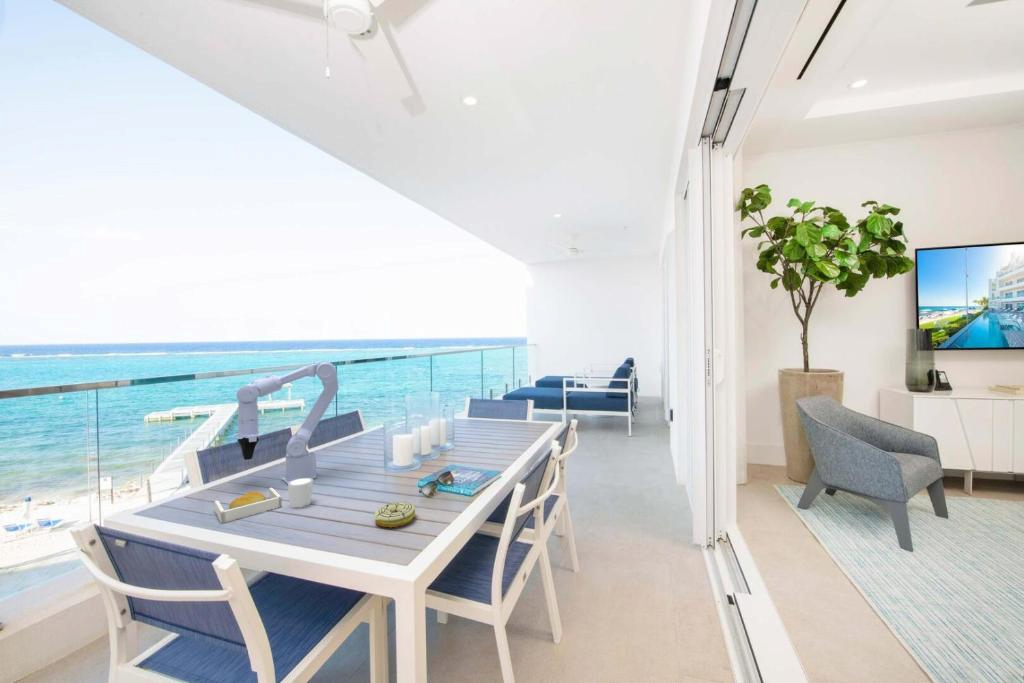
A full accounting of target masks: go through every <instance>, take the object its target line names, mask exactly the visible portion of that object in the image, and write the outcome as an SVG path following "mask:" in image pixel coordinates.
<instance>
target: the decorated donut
mask: <svg viewBox="0 0 1024 683" xmlns="http://www.w3.org/2000/svg"><path fill="white" fill-rule="evenodd" d="M415 515H416V508H415V506H414V505H413V504H412V503H410V502H407V501H404V502H393V503H388V504H385V505H384V506H382V507H380V508H378V509H377V510H376V511H375V512H374V522H375V524H376V525H377V526H380V527H381V526H382V527H381V528H386V527H389V529H390V528H391V529H393V528H392V527H395V528H399V527H398V526H400V527H403V526H402V525H404V526H406V525H408V524H409V523H410V522H412V520H413V518H414V517H415ZM407 523H408V524H407ZM405 524H406V525H405Z"/></svg>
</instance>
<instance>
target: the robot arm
mask: <svg viewBox="0 0 1024 683" xmlns="http://www.w3.org/2000/svg"><path fill="white" fill-rule="evenodd" d="M316 376H317V377H318V378H319V380H320V381H321V383H322V384H321V385H322V386H323V389H322V392H321V393H320V395H319V396H318V398H317V400H316V401H315V402H314V404H313V406H312V408H311V409H310V411H309V413H308V414H307V416H306V418H304V421H302V424H301V425H300V427H299V428H298V430H297V431H296V433H295V434H293V435H292V436H290V437H289V439H288V443H287V445H286V448H285V450H286V454H285V476H284V477H281V480H282V481H283V482H285V484H287V485H288V483H289V482H290V481H292V480H295V479H299V478H312V479H313V480H314V479H317V456H316V454H315V452H314V451H311V452H309V450H307V448H308V446H307V445H308V442H309V441H310V438H311V436H312V435H313V433H314V431H315V429H316V428H317V426H318V424H319V422H320V421H321V419H322V417H323V415H325V413H326V411H327V409H328V408H329V406H330V404H331V403H332V402H333V400H334V398H335V396H336V395H337V393H338V391H339V380H338V372H337V370H336V367H335V366H334V364H333V363H332V362H331V361H328V360H323V361H321V362H319V363H318V362H317V363H313V364H308V365H305V366H302V367H300V368H298V369H295V370H293V371H290V372H288V373H286V374H283V375H281V376H278V375H275V374H273V375H270V374H268V375H266V376H265V378H262V379H260V380H257V381H254V380H253V381H250V384H246V385H244V386H241V387H240V388H239V389H238V390H237V391H236V398H237V400H238V403H237V404H238V407H237V433H234V434H233V437H234V438H236V437H237V438H238V439H236V441H237V442H238V444H239V447H240V449H241V453H242V456H243V459H244V461H249V460H252V459H253V457H254V452H255V448H256V446H257V444H258V443H259V437H258V435H259V433H260V431H259V406H258V398H259V397H260V398H263V397H265V396H268V395H271V394H273V393H275V392H278V391H281V390H282V388H283V387H284V385H285V384H288V383H291V382H294V381H297V380H300V379H302V378H305V377H309V378H315V377H316Z"/></svg>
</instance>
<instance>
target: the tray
mask: <svg viewBox="0 0 1024 683" xmlns="http://www.w3.org/2000/svg"><path fill="white" fill-rule="evenodd" d="M269 497H270V498H269ZM282 498H283V496H282V495H280V494H279V493H278V492H277V491H276V490H275V489H274V488H273V487H269V488H268V499H266V500H265V501H261V502H257V503H253V504H249V505H245V506H241V507H237V508H233V509H229V508H228V509H226V510H225V509H224V508H223V506H222V504H221V502H220V501H219V500H215V501H214V512H215V514H217V515H216V517H217V518H218V520H219V522H220V524H224V523H228V522H232V521H235V520H238V519H243V518H247V517H250V515H251V516H253V515H258V514H261V513H260V512H262V513H264V512H263V511H265V512H268V511H267V510H269V511H272V510H271V509H273V510H276V509H279V508H278V507H280V508H282V507H283V506H282V504H283V502H282V501H283V499H282ZM275 508H276V509H275ZM257 513H258V514H257Z"/></svg>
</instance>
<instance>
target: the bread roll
mask: <svg viewBox="0 0 1024 683" xmlns="http://www.w3.org/2000/svg"><path fill="white" fill-rule="evenodd" d="M265 500H267V497H266V496H265V494H263V493H262V492H259V491H249V492H246V493H244V494H243V495H242V496H239V497H236V498H235V499H233V500H232V501H231V502H230V504H229V506H228V510H229V509H233V508H237V507H241V506H245V505H249V504H253V503H257V502H261V501H265Z"/></svg>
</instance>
